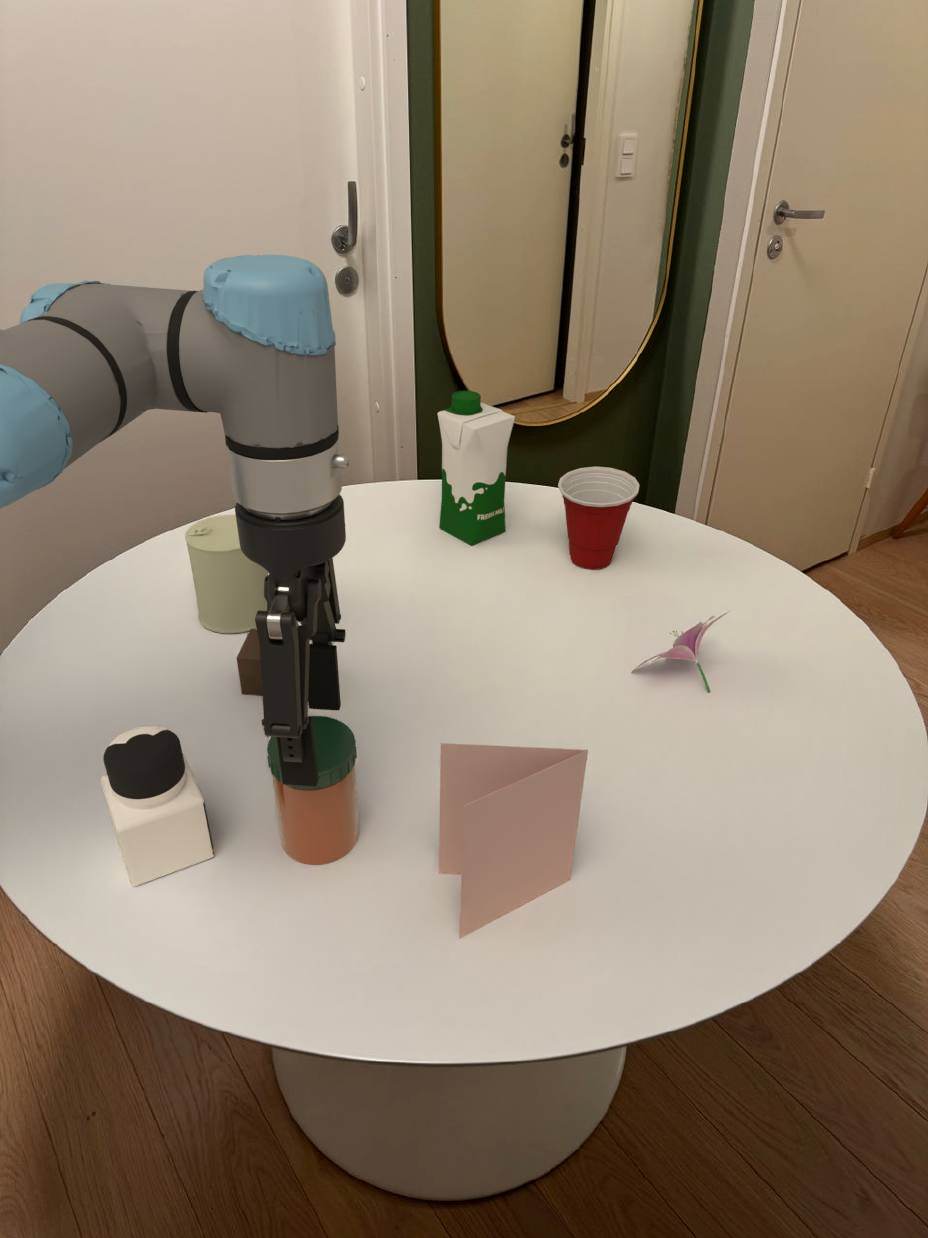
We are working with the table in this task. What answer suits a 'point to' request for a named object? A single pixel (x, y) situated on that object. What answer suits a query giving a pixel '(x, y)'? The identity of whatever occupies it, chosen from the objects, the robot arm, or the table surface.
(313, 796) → the jar
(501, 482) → the milk carton
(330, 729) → the lid
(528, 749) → the greeting card
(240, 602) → the can
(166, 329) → the robot arm
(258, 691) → the riser
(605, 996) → the table surface
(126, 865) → the medicine bottle
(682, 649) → the lily
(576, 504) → the plastic cup
